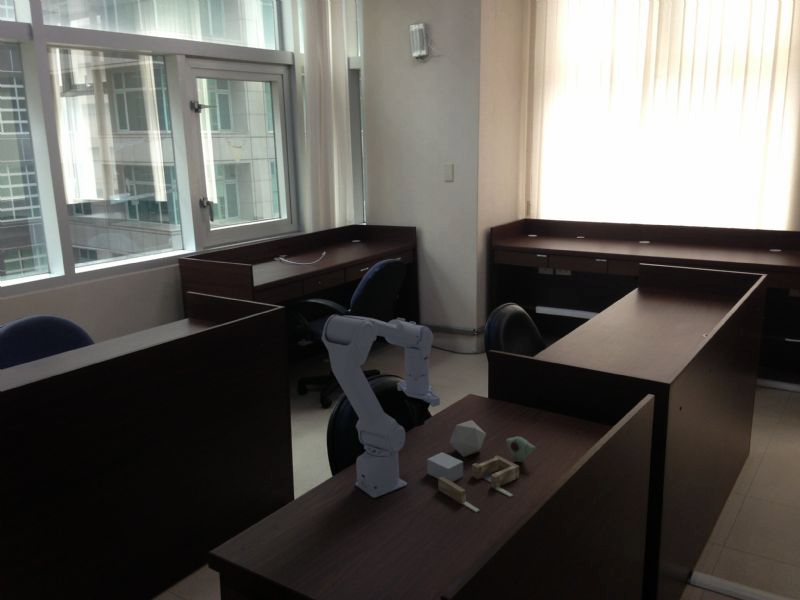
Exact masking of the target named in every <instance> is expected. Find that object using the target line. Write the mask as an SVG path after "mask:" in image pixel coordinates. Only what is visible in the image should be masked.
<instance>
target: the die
mask: <svg viewBox="0 0 800 600" xmlns="http://www.w3.org/2000/svg"><path fill="white" fill-rule="evenodd" d="M486 436H487V432H485V431H484V430H483V429H482V428H481V427H480V426H478V424H476V422H475V421H474V420H473V419H470V420H467V421H465V422H464V421H463V422H461V423H459V424H456V425H455V426H454V429H453V432H452V434H451V437H450V440H449V444H450V445H451V446H452V447H453V448H454V449H455V450H456V451H457V452H458V453H459V454H460V455H461V456H462V457H463V458H464V457H465V458H466V457H468V456H471V455H474V454H476V453H479V452H480V451H481V449H482V446H483V443H484V440H485V438H486Z"/></svg>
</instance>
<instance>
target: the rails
mask: <svg viewBox="0 0 800 600" xmlns="http://www.w3.org/2000/svg"><path fill="white" fill-rule="evenodd" d="M495 490H496V491H497V492H500V493H501V494H503V495H505V496H507V497H508V498H511V497H513V496H514V494H513V493H511V492H509V491H507V490H505V489H504V488H502V487H501V486H499V487H497V488H496V489H495ZM461 505H463V506H465V507H467V508H468V509H469V510H471V511H472V512H474V513H478V512H480V511H481V510H480V509H479V508H478V507H476V506H474V505H472V503H470V502H468V501H467V500H466V501H465V502H463V503H462V504H461Z"/></svg>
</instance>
